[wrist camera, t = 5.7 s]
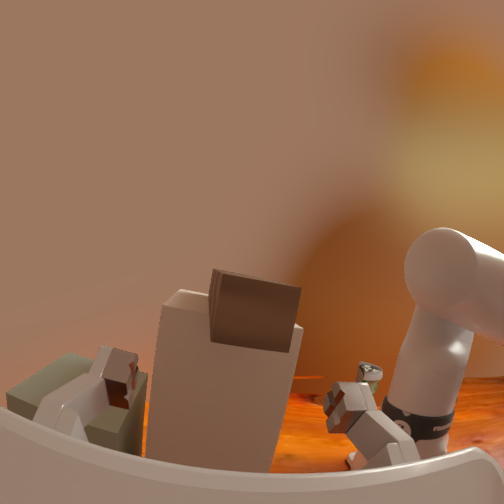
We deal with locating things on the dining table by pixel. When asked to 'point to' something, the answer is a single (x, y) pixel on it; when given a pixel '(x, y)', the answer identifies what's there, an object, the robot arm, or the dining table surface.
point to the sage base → (103, 426)
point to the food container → (369, 375)
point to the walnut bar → (252, 311)
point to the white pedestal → (214, 393)
